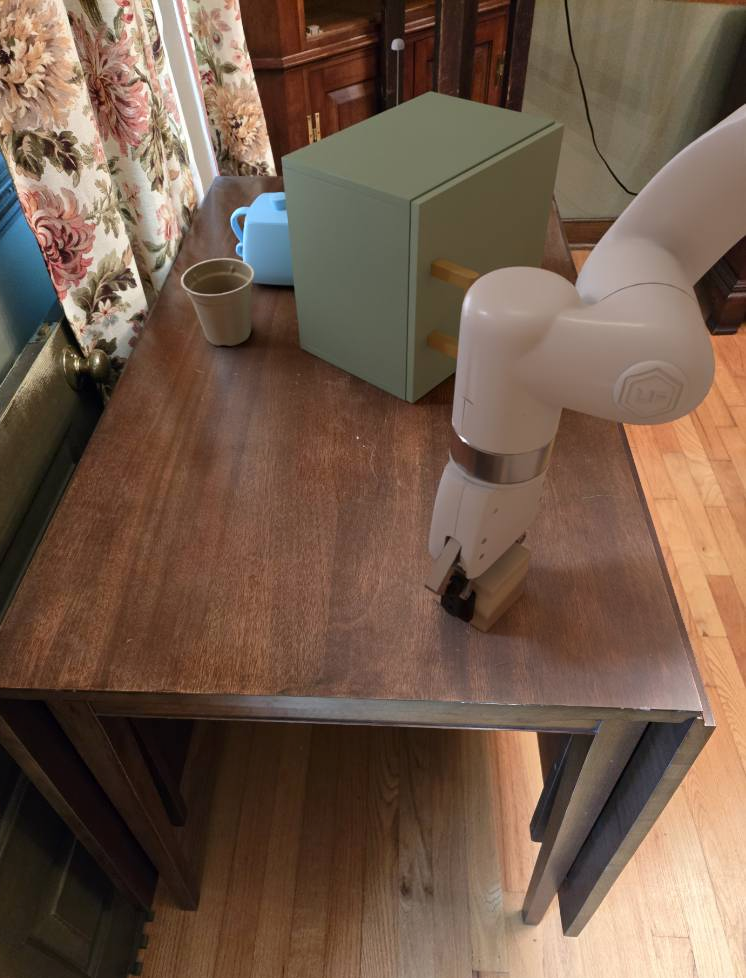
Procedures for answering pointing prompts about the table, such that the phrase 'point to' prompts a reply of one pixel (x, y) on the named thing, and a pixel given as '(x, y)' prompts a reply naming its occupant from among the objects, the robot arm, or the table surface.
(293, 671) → the table surface
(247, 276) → the flower pot
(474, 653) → the table surface
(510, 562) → the block
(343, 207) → the cupboard
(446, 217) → the cupboard door
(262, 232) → the teapot
